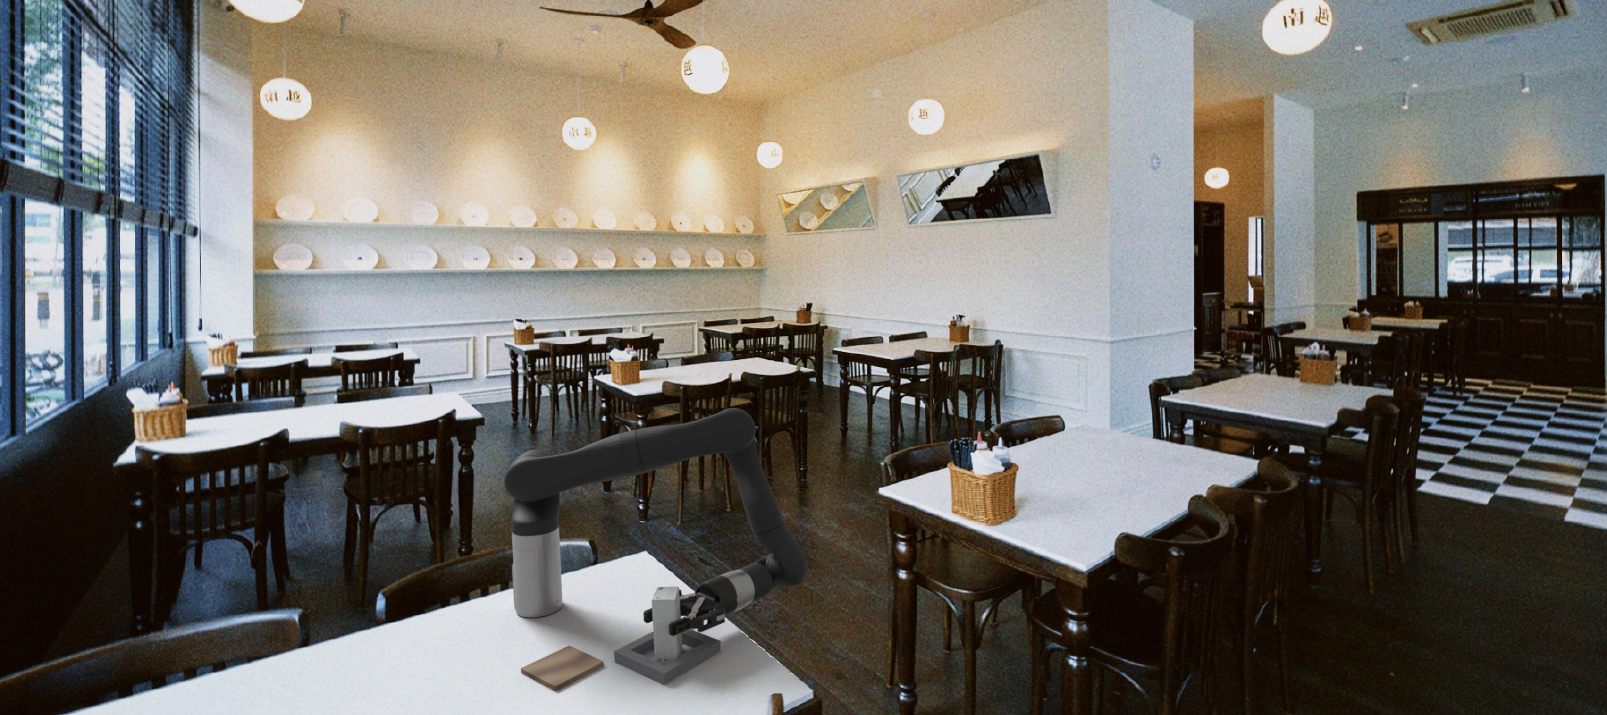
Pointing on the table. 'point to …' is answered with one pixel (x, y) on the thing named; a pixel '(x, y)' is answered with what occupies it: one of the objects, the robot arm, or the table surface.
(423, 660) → the table surface
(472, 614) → the table surface
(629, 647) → the socket block
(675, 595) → the skincare box
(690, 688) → the table surface
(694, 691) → the table surface
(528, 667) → the coaster
